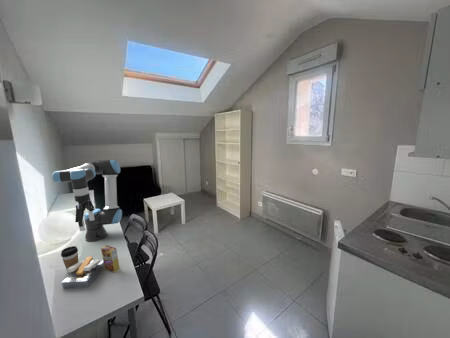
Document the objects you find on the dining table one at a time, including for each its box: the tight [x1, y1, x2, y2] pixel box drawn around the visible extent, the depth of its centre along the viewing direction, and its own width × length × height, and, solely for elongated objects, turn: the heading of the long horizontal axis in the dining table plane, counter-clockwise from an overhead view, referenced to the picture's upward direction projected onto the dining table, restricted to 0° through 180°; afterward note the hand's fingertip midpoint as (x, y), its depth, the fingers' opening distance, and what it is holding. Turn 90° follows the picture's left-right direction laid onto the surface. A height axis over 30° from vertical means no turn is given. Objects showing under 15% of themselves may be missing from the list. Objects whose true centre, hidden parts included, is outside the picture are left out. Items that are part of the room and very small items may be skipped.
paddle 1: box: [68, 259, 85, 272], centre depth 117 cm, size 11×3×2 cm, turn 3°
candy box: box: [100, 244, 120, 273], centre depth 122 cm, size 9×4×15 cm, turn 69°
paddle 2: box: [84, 259, 102, 271], centre depth 118 cm, size 11×3×2 cm, turn 3°
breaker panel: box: [61, 259, 105, 289], centre depth 118 cm, size 18×14×5 cm
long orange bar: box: [76, 256, 94, 275], centre depth 117 cm, size 11×3×2 cm, turn 3°
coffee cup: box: [60, 245, 79, 274], centre depth 122 cm, size 8×8×15 cm
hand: (87, 225), depth 124 cm, fingers open, 13 cm apart
